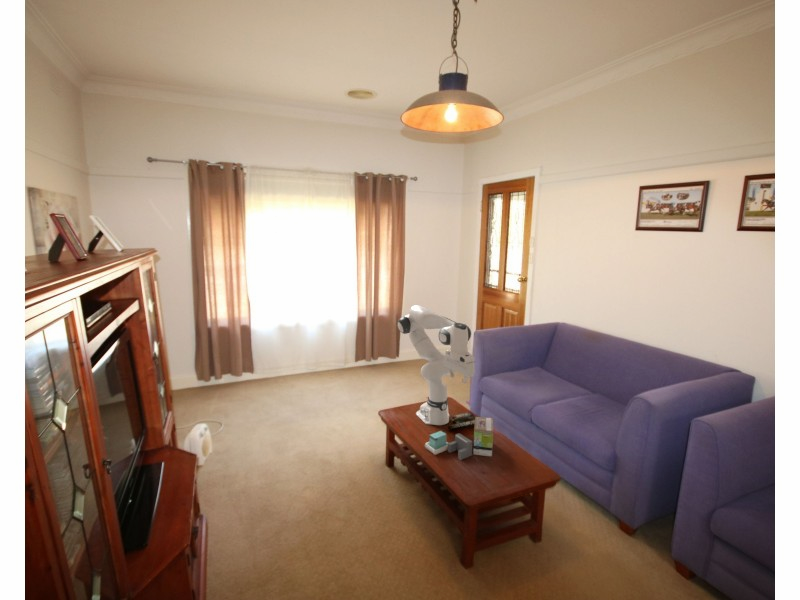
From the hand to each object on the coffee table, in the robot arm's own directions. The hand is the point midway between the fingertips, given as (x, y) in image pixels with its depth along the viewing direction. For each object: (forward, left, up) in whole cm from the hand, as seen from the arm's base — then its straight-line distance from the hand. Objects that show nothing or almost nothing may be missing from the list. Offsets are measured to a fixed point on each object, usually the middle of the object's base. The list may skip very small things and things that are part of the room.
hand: (458, 379), depth 208 cm
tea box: (+8, +12, -39) cm, 42 cm away
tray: (-6, -8, -39) cm, 40 cm away
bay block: (+5, -2, -39) cm, 39 cm away
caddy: (-6, -8, -38) cm, 40 cm away
